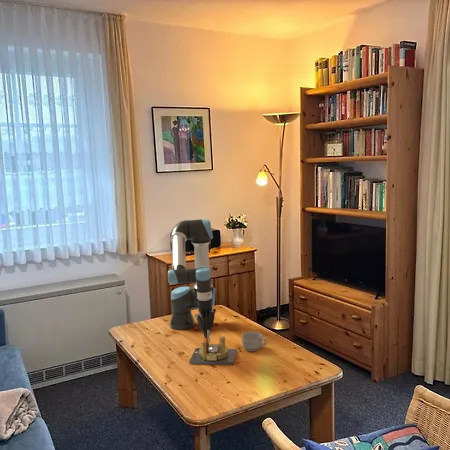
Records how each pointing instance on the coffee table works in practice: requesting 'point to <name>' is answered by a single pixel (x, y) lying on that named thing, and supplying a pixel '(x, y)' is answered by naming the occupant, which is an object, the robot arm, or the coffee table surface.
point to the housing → (214, 350)
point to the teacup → (252, 341)
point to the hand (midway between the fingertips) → (207, 342)
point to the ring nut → (220, 355)
